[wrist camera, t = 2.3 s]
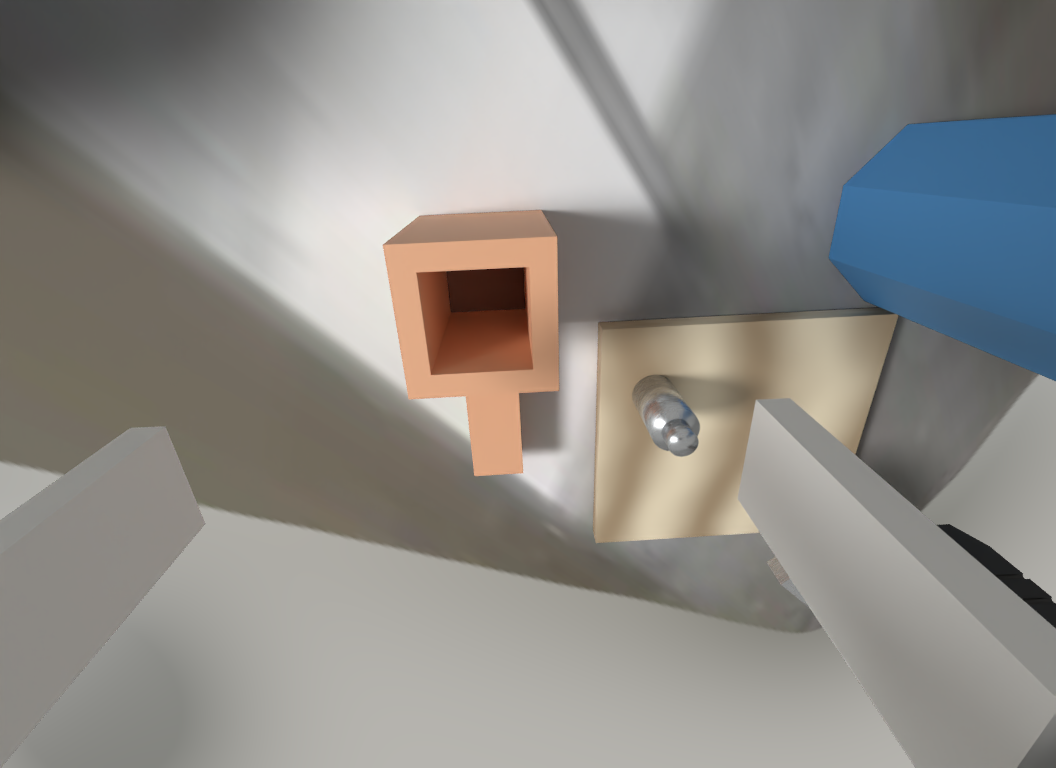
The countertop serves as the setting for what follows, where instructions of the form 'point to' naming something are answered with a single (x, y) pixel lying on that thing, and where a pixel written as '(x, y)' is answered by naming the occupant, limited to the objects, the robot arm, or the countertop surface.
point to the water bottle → (960, 233)
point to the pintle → (666, 415)
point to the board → (721, 408)
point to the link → (478, 322)
